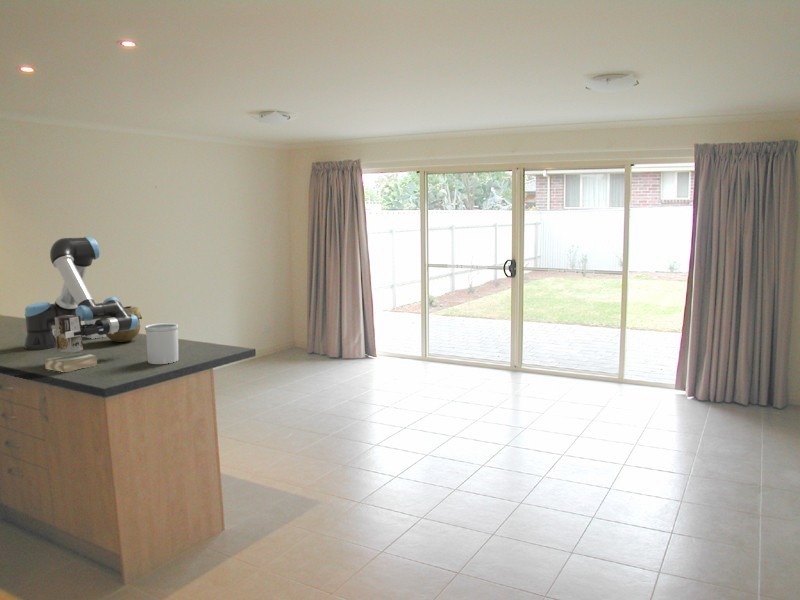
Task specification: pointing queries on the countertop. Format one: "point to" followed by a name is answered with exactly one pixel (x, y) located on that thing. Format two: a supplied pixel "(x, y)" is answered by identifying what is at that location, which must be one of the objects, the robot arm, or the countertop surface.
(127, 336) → the clay pot
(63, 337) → the coffee box
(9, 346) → the countertop surface
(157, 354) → the utensil holder
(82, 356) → the base block
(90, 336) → the white canister
